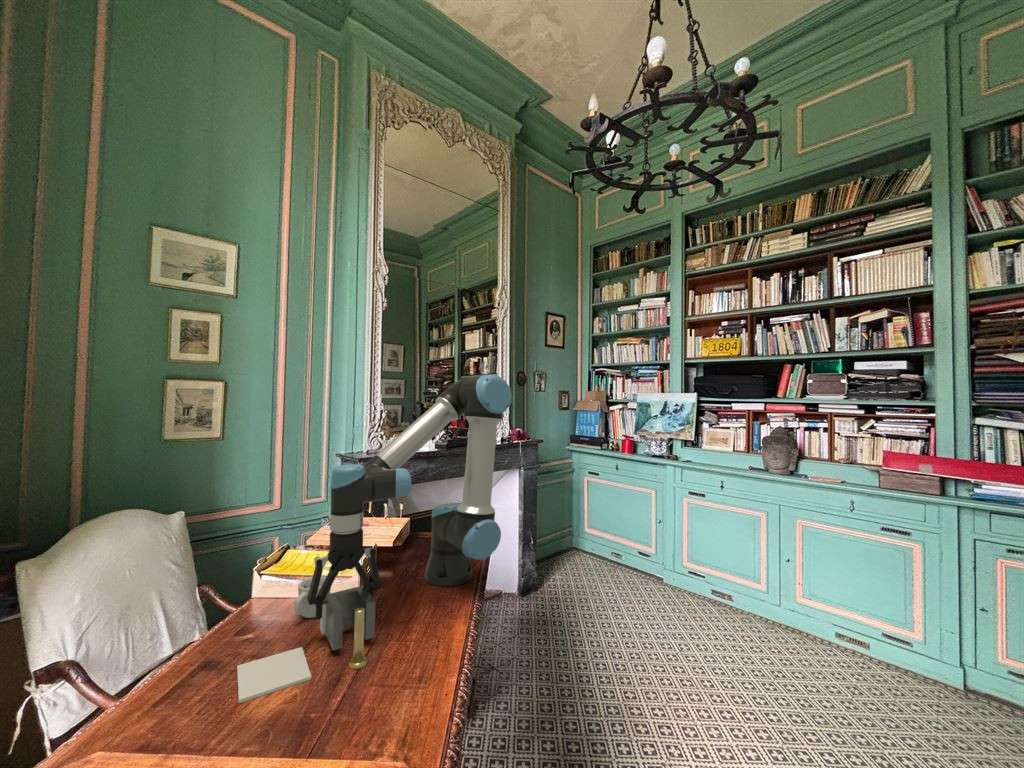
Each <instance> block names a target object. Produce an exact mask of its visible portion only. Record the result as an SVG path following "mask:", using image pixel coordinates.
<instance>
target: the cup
mask: <svg viewBox="0 0 1024 768" xmlns="http://www.w3.org/2000/svg"><path fill="white" fill-rule="evenodd" d="M326 577H327V576H322V575H321V579H320V583H319V587H318V591H317V595H318V593H319V591H320V589H321V587H322V585H323V583H324V581H325V579H326ZM312 578H313V576H312V577H308V578H305V579H303V580H302V581H300V582H299V584H298V586H297V592H298V596H297V597H296V599H295V602H294V606H293V607H294V609H293V610H294V613H295V614H296V615H299V616H301V617H303V618H305V619H314V618H317V617H316V615H315V614H316V605H315V604H312V605H310V604H309V603H308V600H307V597H308V593H309V589H310V586H311V582H312ZM331 588H332V587H331ZM331 588H330V590H329V592H328V594H331V590H332V589H331ZM317 595H316V597H317Z"/></svg>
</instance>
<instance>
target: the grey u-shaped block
mask: <svg viewBox="0 0 1024 768" xmlns="http://www.w3.org/2000/svg"><path fill="white" fill-rule="evenodd" d="M366 589H367V588H366V587H365V585H360V586H356V587H350V588H348V589H347V588H346V589H344V590H339V591H335V592H330V594H327V596H326V598H325V600H324V601H325V603H326V633H325V634H324V635H325V636H326V639H327V641H328V643H329V645H330V647H331V650H332V651H336V650H339V649H342V648H343V640H344V639H343V638H344V637H343V635H344V629H346V628H349V627H352V626H354V622H355V610H356V609H358V608H364V609H365V621H364V640H365V641H367V640H370V639H373V638H375V637H376V600H375V599H374V596H373V597H372V596H371V595H370V594H369V592H368V591H367V590H366Z"/></svg>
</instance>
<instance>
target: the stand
mask: <svg viewBox="0 0 1024 768" xmlns="http://www.w3.org/2000/svg"><path fill="white" fill-rule="evenodd" d="M364 621H365V609H364V608H358V609H356V610H355V622H354V625H353V626H354V629H353V649H352V651H353V652H352V654H353V655H352V658H351V659H349V660H348V667H349V669H352V670H359V669H363V667H365V666H366V665H367V664H368V657H366V656H365V655H364V645H365V643H364V641H365V638H364Z"/></svg>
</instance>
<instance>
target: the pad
mask: <svg viewBox="0 0 1024 768" xmlns="http://www.w3.org/2000/svg"><path fill="white" fill-rule="evenodd" d="M236 670H237V671H236V673H237V676H236V677H237V695H238V696H237V698H238V704H241V703H245V702H247V701H251V700H253V699H256V698H259V697H263V696H265V695H268V694H271V693H274V692H277V691H280V690H283V689H284V690H285V689H287V688H290V687H293V686H296V685H298V684H301V683H305V682H308V681H310V680H312V674H311V671H310V668H309V664H308V662H307V659H306V656H305V651H304V648H303V647H302V646H300V647H298V648H297V647H296V648H294V649H289V650H286V651H283V652H281V653H280V652H279V653H277V654H273V655H269V656H266V657H263V658H259V659H255V660H252V661H248V662H245V663H242V664H237V666H236Z"/></svg>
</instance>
